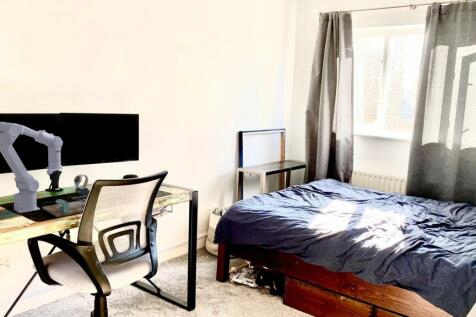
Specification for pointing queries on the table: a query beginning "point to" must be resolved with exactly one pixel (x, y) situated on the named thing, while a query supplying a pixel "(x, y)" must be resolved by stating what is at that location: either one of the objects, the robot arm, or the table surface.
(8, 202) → the table surface
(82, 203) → the latch bar
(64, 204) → the block
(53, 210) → the board
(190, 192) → the table surface
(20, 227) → the table surface
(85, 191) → the watch
